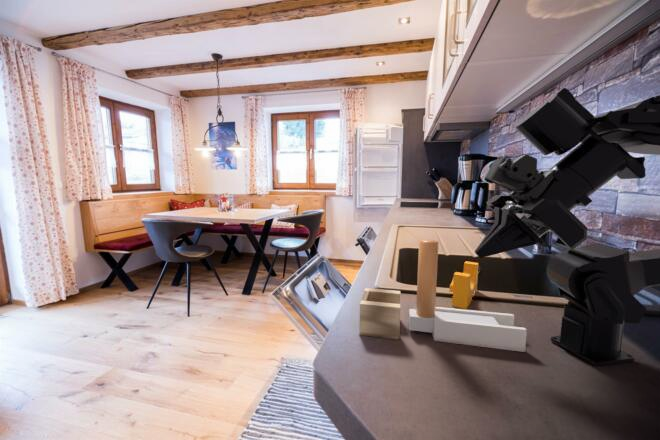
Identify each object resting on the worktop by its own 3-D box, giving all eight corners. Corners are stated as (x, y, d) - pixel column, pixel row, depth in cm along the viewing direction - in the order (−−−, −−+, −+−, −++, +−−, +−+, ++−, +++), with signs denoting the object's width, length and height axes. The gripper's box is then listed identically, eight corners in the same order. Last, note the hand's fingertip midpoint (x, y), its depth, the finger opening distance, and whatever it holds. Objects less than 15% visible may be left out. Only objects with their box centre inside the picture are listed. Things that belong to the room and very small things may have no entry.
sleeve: (511, 333, 45) (512, 314, 45) (525, 351, 40) (526, 330, 40) (430, 324, 48) (431, 306, 48) (433, 340, 43) (434, 320, 43)
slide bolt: (492, 330, 45) (498, 242, 43) (498, 340, 42) (505, 246, 40) (408, 321, 48) (411, 238, 46) (409, 329, 45) (412, 242, 43)
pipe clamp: (455, 287, 67) (457, 260, 66) (476, 291, 64) (478, 263, 63) (442, 304, 57) (444, 272, 56) (466, 310, 54) (468, 276, 54)
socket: (399, 318, 50) (400, 290, 50) (399, 339, 43) (400, 307, 43) (364, 315, 52) (365, 287, 51) (359, 334, 45) (359, 303, 44)
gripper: (503, 147, 49) (431, 210, 52) (565, 123, 31) (448, 223, 34) (553, 194, 48) (476, 256, 51) (646, 198, 30) (517, 293, 33)
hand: (477, 255), depth 43 cm, fingers closed
